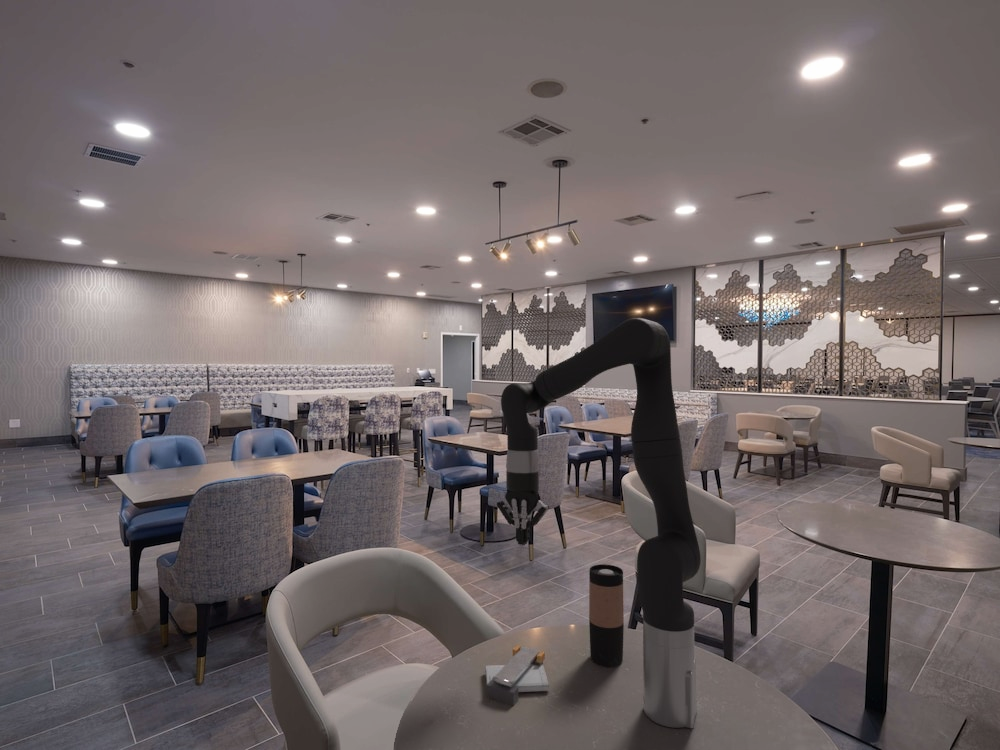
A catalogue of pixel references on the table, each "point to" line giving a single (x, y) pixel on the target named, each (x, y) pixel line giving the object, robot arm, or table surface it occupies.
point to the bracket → (505, 692)
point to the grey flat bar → (515, 666)
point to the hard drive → (524, 678)
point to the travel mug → (606, 615)
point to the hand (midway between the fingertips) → (522, 543)
